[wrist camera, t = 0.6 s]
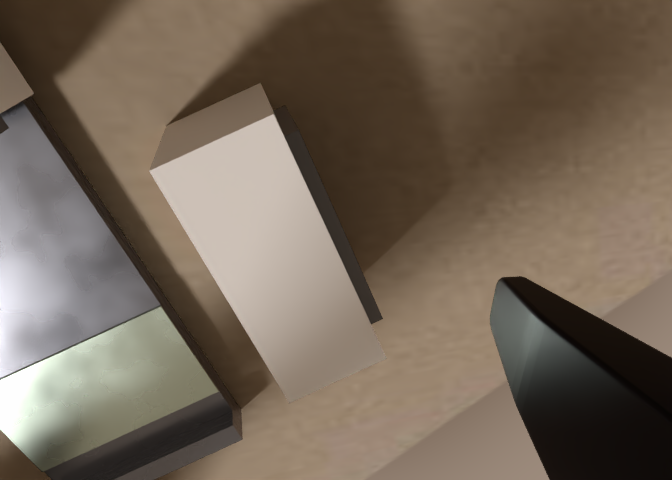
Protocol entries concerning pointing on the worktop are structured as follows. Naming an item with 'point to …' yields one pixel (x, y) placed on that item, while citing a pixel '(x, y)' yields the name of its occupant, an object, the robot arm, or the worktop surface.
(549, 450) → the robot arm
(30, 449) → the rail
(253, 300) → the white rectangular prism
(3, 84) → the block
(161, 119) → the worktop surface
